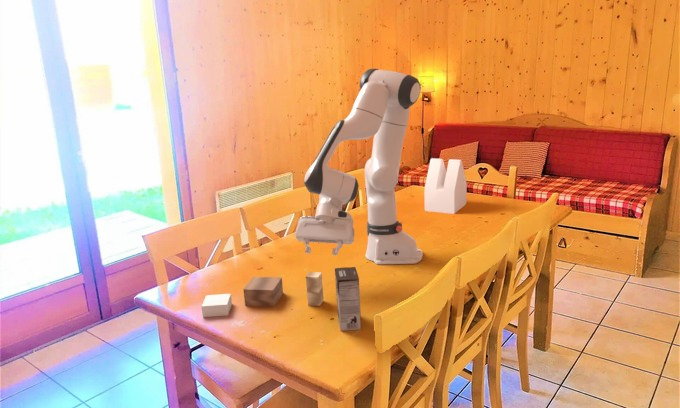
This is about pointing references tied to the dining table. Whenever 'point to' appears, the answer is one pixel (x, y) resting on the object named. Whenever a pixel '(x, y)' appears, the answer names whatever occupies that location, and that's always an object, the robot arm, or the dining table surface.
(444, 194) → the white notched block
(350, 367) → the dining table surface
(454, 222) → the dining table surface
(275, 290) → the walnut block
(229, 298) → the white square block
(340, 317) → the coffee box
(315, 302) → the oak pillar
